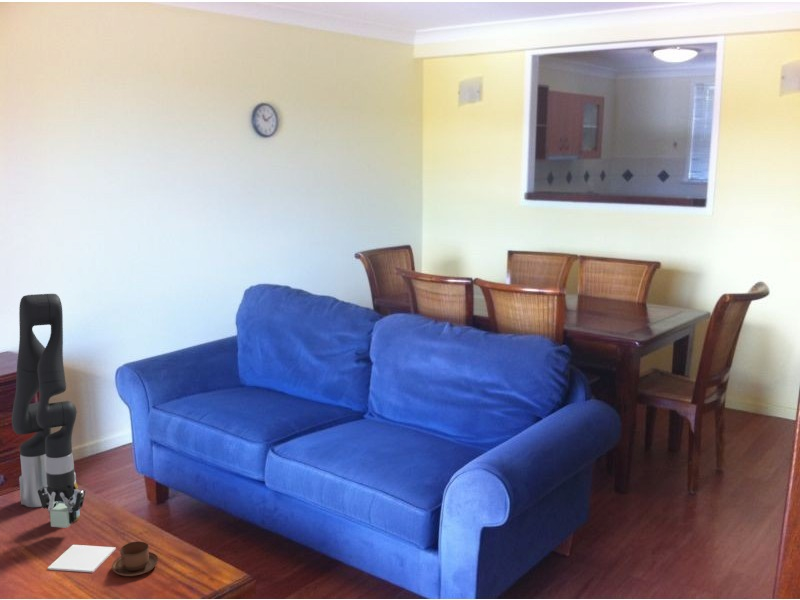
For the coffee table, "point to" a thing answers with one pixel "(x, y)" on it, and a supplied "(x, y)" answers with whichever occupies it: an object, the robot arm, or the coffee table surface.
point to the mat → (82, 558)
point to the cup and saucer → (134, 559)
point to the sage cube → (60, 516)
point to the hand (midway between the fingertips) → (63, 521)
